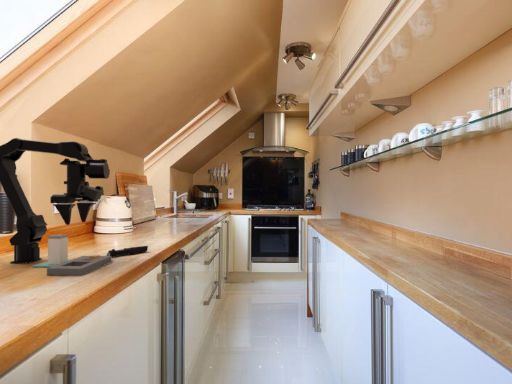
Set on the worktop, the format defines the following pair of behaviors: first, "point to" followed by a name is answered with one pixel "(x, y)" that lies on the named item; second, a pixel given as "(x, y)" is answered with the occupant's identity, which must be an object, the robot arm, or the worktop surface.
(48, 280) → the worktop surface
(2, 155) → the robot arm
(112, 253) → the electric trimmer
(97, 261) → the grey panel
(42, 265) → the teal mat
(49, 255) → the beige grey rectangular block
